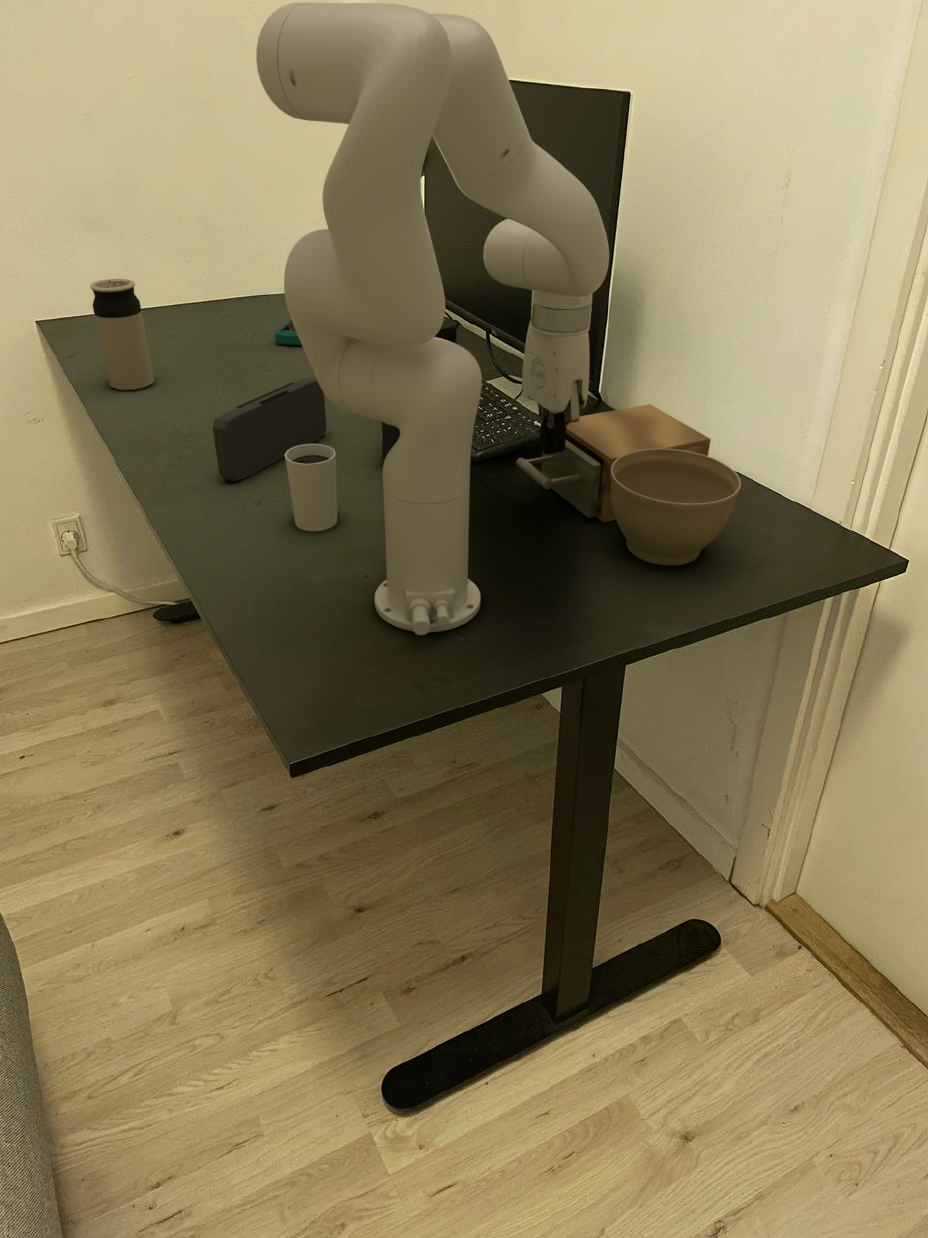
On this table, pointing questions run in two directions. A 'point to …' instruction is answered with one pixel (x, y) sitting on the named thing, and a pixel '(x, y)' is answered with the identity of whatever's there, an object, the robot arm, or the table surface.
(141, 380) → the travel mug
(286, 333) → the digital multimeter
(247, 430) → the handheld gaming console
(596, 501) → the drawer
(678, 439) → the cabinet
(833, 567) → the table surface
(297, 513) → the white coffee cup
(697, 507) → the planter bowl
